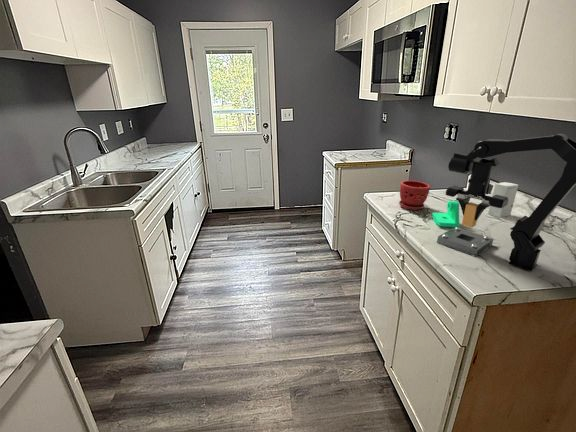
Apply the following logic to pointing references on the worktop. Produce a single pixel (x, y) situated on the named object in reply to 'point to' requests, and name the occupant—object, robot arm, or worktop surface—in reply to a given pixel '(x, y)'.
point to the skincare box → (507, 191)
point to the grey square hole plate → (465, 241)
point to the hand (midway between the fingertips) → (470, 218)
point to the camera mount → (448, 215)
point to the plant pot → (413, 194)
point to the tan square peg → (470, 215)
